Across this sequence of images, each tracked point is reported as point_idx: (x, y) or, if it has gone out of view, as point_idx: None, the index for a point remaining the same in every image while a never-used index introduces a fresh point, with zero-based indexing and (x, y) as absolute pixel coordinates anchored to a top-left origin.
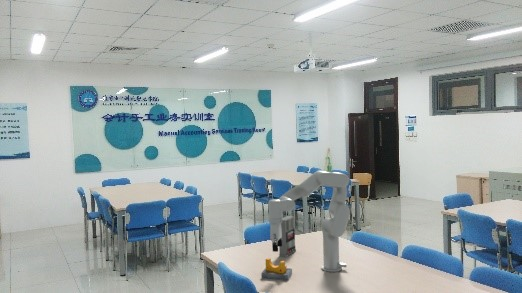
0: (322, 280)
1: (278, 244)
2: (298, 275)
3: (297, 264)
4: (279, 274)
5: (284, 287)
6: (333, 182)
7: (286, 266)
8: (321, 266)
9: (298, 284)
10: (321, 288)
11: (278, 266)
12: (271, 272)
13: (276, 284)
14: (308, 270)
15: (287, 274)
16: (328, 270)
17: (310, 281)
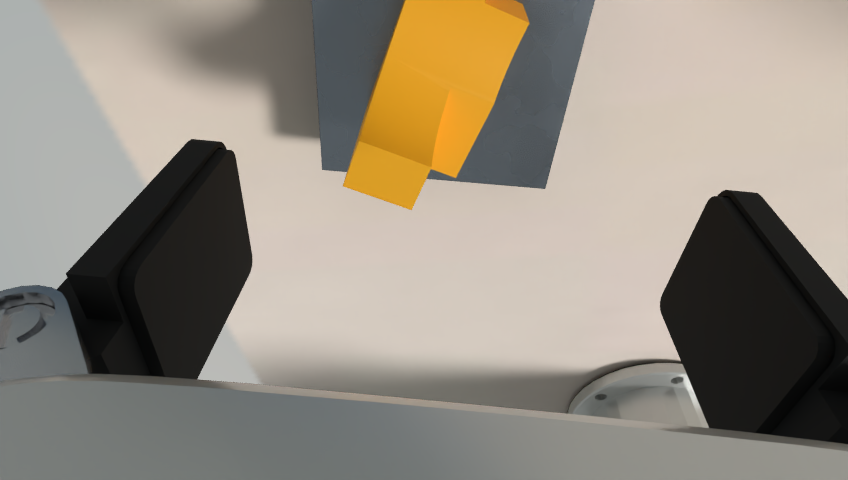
0: (396, 366)
1: (710, 272)
2: (486, 217)
3: (843, 182)
4: (317, 68)
5: (138, 128)
6: None
7: (453, 171)
8: (668, 374)
9: (263, 234)
10: (249, 362)
11: (378, 79)
12: None
13: (174, 31)
14: (623, 284)
15: (343, 162)
16: (575, 404)
17: (357, 306)
